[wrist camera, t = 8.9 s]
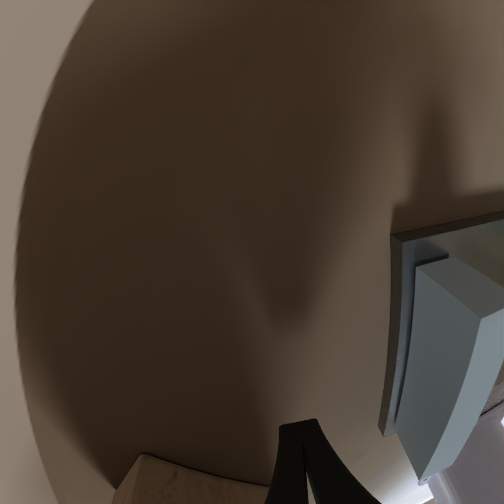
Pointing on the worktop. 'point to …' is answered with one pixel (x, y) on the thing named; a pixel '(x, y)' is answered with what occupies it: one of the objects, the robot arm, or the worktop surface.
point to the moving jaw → (449, 361)
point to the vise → (403, 287)
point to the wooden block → (182, 486)
